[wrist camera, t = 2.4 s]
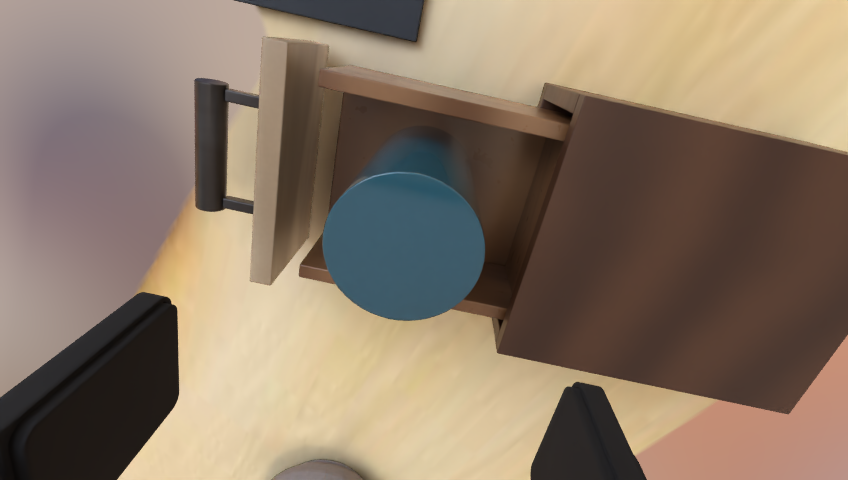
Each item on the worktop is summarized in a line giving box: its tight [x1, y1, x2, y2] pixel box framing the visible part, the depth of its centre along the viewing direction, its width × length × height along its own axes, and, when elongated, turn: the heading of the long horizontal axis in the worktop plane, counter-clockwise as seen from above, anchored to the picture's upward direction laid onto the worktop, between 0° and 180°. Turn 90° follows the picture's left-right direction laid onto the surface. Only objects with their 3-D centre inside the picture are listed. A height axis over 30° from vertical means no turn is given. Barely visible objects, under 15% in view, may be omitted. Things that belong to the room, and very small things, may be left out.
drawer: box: [195, 37, 572, 320], centre depth 25 cm, size 20×13×7 cm, turn 78°
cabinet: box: [492, 83, 848, 414], centre depth 25 cm, size 17×14×9 cm
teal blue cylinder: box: [322, 126, 485, 321], centre depth 22 cm, size 8×6×11 cm
